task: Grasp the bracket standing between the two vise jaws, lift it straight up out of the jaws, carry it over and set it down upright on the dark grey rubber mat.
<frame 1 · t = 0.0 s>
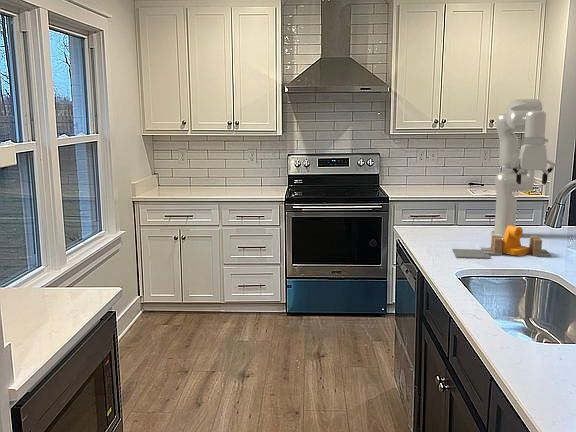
hand: (531, 184, 230), 31 cm above the worktop, fingers open, 9 cm apart
bracket: (515, 254, 243), on the worktop
vise jaws: (515, 253, 243), on the worktop
mat: (471, 254, 242), on the worktop
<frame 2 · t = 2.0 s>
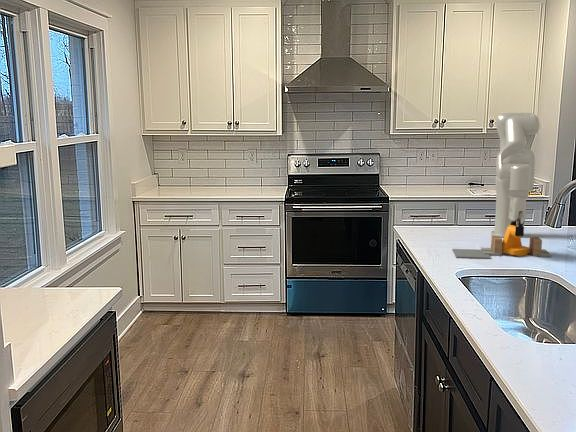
hand: (516, 233, 241), 9 cm above the worktop, fingers open, 9 cm apart
nothing on the worktop moved.
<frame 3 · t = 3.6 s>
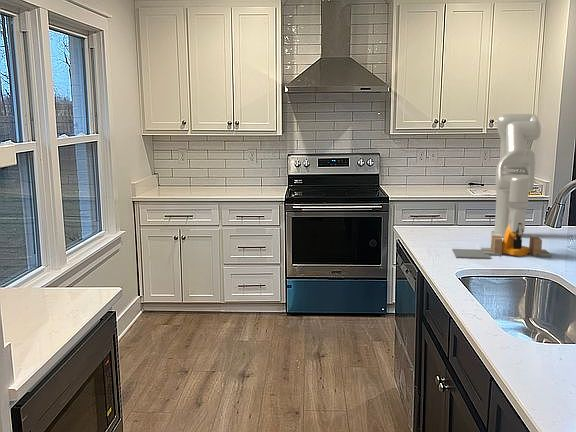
hand: (515, 246, 242), 3 cm above the worktop, fingers closed on bracket, 5 cm apart
bracket: (515, 254, 242), on the worktop, touching gripper
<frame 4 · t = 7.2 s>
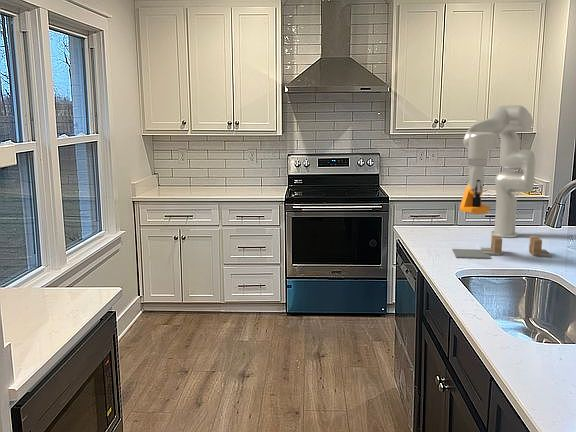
hand: (475, 205, 238), 22 cm above the worktop, fingers closed on bracket, 4 cm apart
bracket: (475, 213, 238), point 18 cm above the worktop, touching gripper
when the fingers open (5 cm above the worktop, at t = 11.3 s): bracket stays where it is, resting on mat, vise jaws.
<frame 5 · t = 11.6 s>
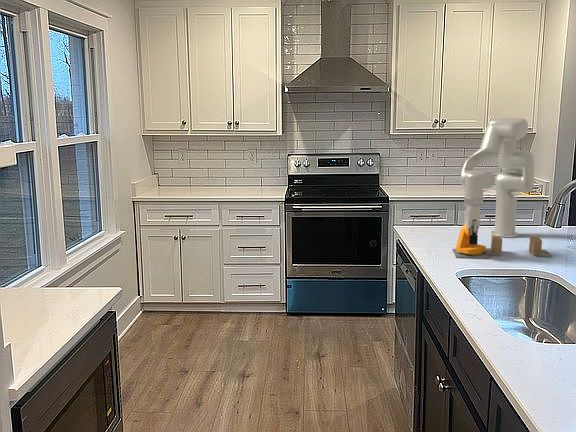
hand: (471, 241, 241), 6 cm above the worktop, fingers open, 8 cm apart
bracket: (471, 253, 242), point 1 cm above the worktop, touching mat, vise jaws
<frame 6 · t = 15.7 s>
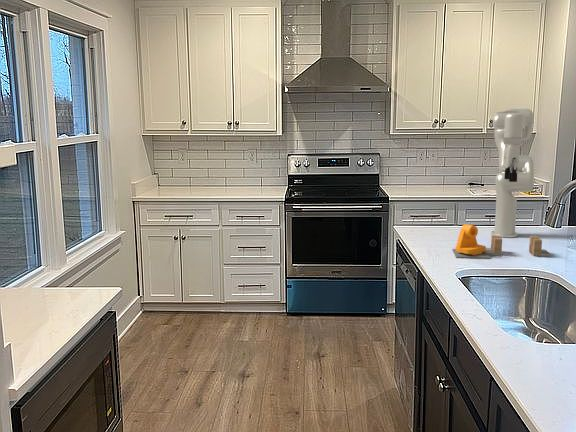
hand: (510, 180, 250), 30 cm above the worktop, fingers open, 9 cm apart
nothing on the worktop moved.
at the end: bracket inside the target area on the mat (0.4 cm from its centre), point 0.6 cm above the mat's base; bracket tilted 2°; the gripper is holding nothing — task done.
